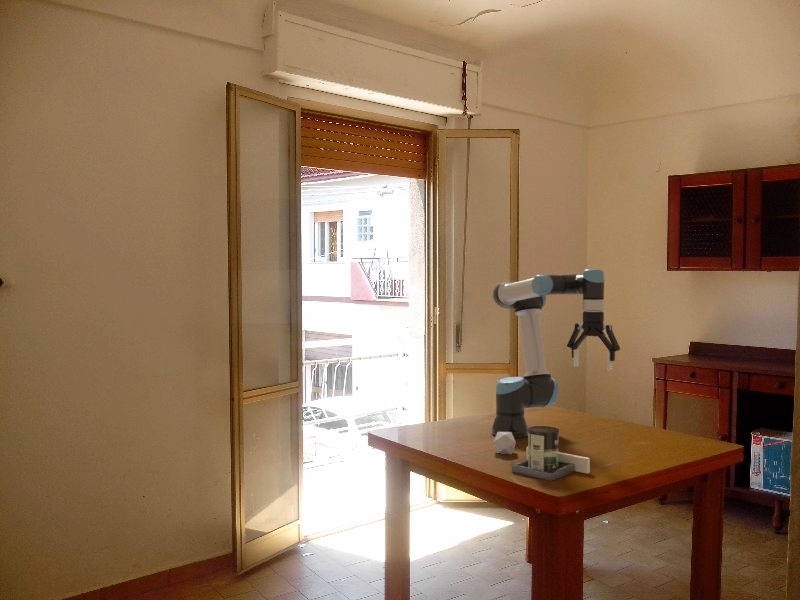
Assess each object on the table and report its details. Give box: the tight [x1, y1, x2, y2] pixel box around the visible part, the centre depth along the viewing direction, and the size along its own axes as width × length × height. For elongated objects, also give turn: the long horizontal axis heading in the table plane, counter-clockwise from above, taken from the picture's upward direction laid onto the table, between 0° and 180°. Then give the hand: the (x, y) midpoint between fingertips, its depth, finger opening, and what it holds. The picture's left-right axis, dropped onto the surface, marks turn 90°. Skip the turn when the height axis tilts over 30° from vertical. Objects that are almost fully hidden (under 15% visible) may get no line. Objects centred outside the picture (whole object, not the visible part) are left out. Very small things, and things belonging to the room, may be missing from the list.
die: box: [492, 432, 517, 455], centre depth 264 cm, size 8×9×10 cm
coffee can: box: [527, 425, 560, 472], centre depth 240 cm, size 10×10×14 cm
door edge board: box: [525, 446, 591, 474], centre depth 246 cm, size 24×2×5 cm, turn 47°
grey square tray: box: [511, 459, 576, 482], centre depth 240 cm, size 15×15×2 cm
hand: (592, 368), depth 263 cm, fingers open, 13 cm apart
